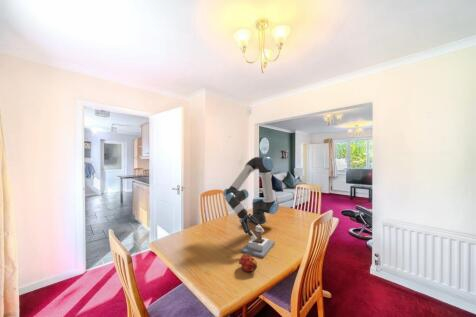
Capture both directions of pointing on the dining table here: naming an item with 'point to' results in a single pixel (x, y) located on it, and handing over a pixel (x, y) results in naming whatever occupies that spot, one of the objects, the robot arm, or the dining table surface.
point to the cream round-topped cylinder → (258, 234)
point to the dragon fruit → (248, 263)
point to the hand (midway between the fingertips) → (259, 235)
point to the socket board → (258, 252)
